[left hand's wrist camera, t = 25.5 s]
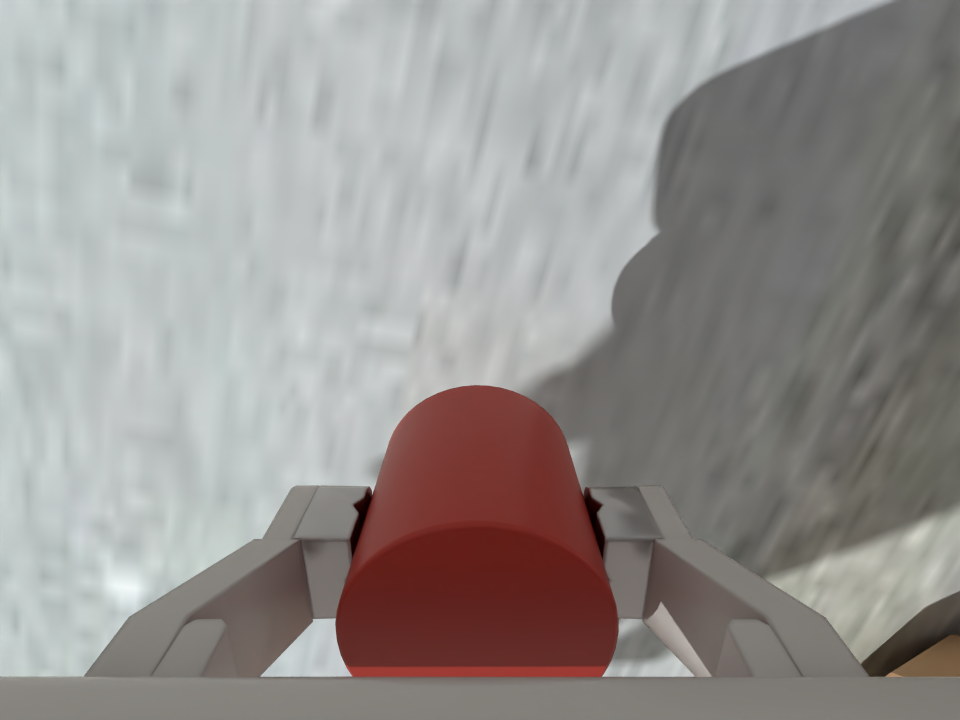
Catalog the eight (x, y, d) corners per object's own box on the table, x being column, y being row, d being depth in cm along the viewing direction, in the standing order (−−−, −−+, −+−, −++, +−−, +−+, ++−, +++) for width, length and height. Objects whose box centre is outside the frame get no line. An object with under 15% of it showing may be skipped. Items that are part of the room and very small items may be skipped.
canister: (481, 568, 13) (483, 768, 9) (349, 470, 12) (277, 644, 8) (607, 463, 12) (679, 635, 8) (472, 345, 11) (469, 468, 7)
